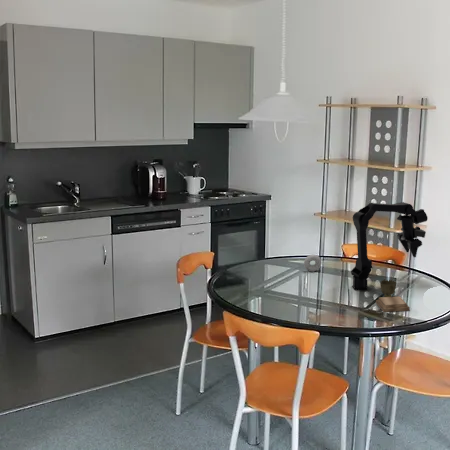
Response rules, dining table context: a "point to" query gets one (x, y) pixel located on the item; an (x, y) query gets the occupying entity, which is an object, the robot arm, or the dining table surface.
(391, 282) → the cup
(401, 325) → the dining table surface
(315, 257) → the donut
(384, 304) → the plinth
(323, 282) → the dining table surface
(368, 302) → the dining table surface
